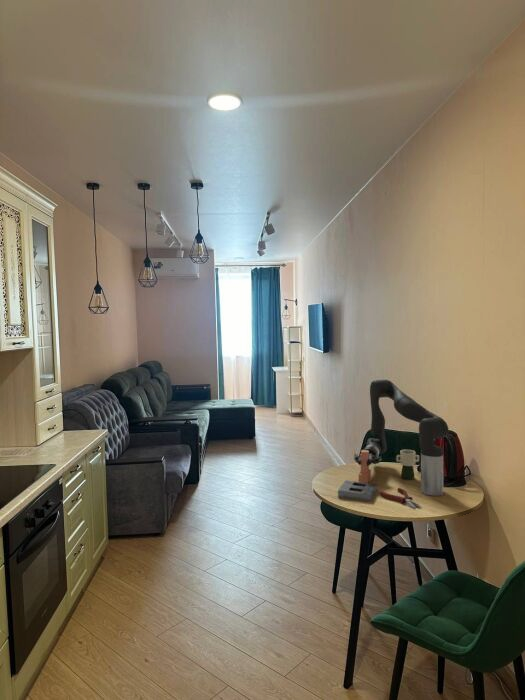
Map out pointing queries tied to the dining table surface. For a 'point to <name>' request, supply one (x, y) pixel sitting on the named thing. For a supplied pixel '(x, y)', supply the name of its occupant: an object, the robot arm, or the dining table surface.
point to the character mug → (407, 462)
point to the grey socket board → (357, 490)
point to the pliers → (400, 498)
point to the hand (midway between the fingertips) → (363, 463)
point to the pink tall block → (364, 467)
